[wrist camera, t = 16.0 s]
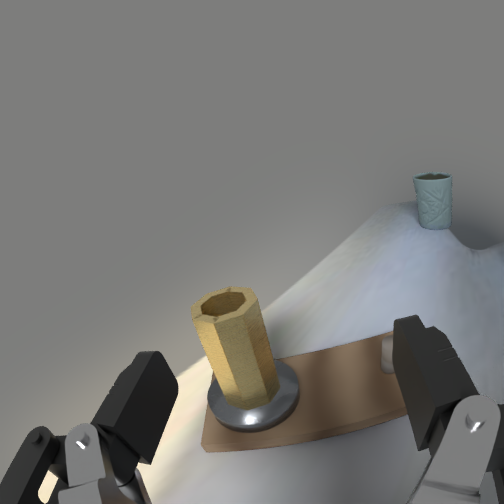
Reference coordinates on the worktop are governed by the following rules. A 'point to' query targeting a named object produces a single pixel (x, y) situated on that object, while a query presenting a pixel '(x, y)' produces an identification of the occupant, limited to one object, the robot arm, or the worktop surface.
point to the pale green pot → (434, 199)
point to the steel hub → (262, 415)
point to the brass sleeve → (237, 346)
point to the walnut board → (326, 398)
